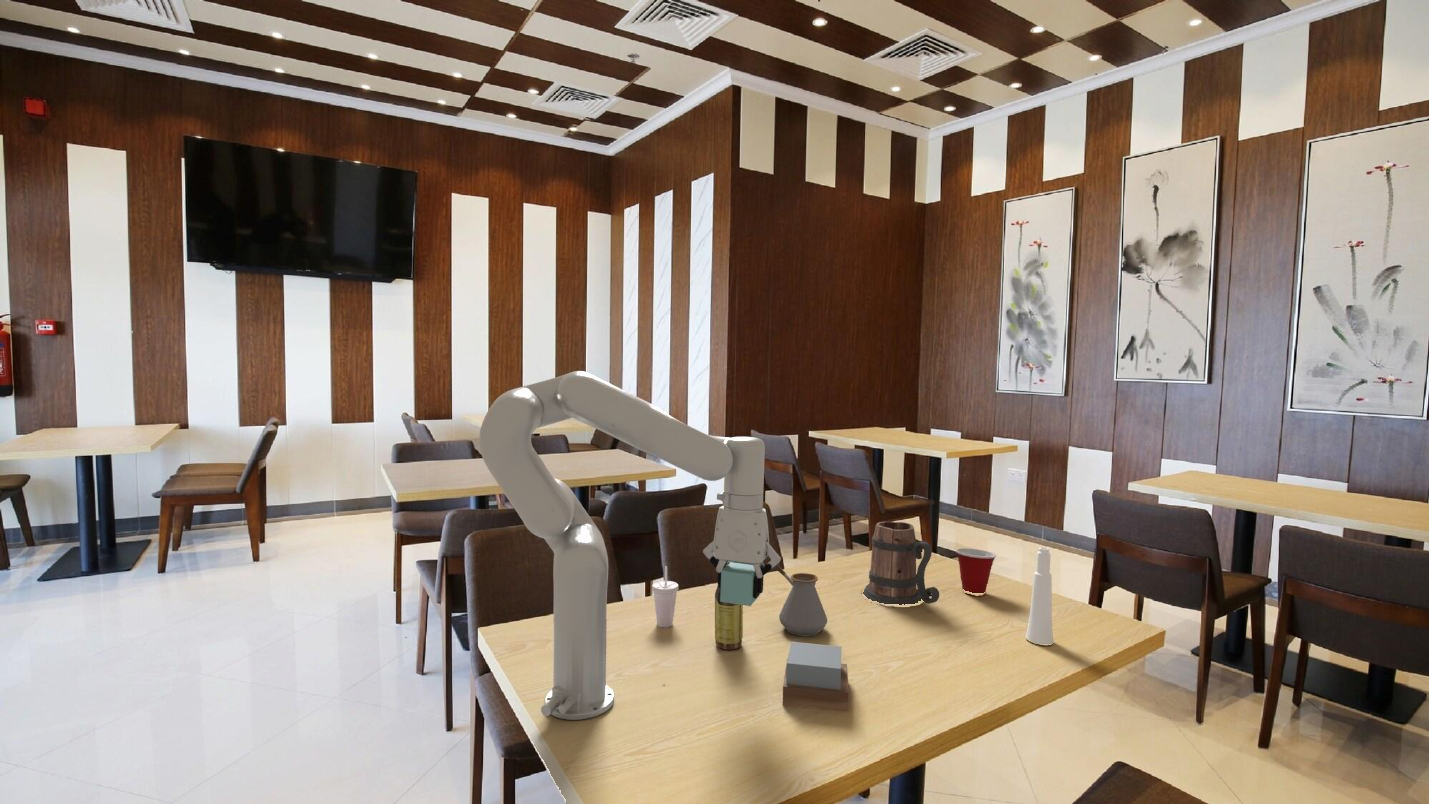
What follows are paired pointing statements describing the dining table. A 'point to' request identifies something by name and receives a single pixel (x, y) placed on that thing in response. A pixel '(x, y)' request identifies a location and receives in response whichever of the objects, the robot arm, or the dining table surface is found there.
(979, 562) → the plastic cup
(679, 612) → the dining table surface
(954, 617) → the dining table surface
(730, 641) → the sauce bottle
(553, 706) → the robot arm
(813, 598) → the coffee pot
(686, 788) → the dining table surface
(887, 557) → the tankard
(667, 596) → the smoothie
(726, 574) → the teal cube
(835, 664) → the top block
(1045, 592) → the cosmetic bottle
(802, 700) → the bottom block
